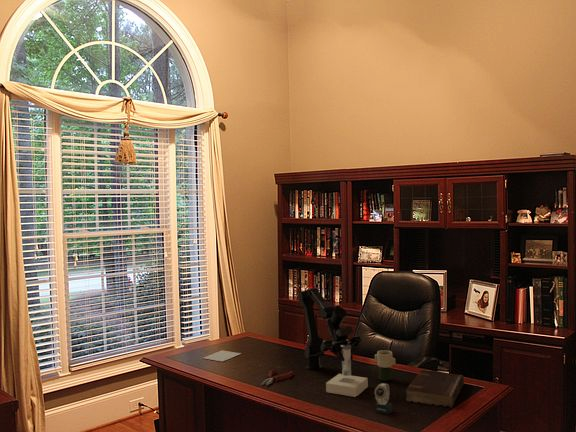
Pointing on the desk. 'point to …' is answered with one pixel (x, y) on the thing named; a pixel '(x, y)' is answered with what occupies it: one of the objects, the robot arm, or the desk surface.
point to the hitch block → (347, 385)
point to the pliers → (276, 377)
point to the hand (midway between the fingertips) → (347, 360)
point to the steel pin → (346, 359)
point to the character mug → (385, 364)
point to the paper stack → (222, 355)
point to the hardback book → (435, 388)
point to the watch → (382, 399)
